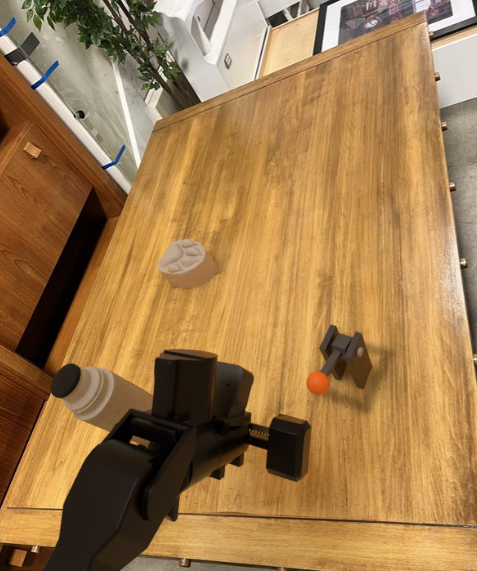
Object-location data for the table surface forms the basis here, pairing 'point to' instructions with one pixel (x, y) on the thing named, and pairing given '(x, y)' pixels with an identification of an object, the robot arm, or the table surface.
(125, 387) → the thermos bottle
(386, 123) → the table surface
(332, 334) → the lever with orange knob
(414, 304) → the table surface
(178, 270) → the lumpy-topped squat cylinder
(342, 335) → the switch
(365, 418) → the table surface
